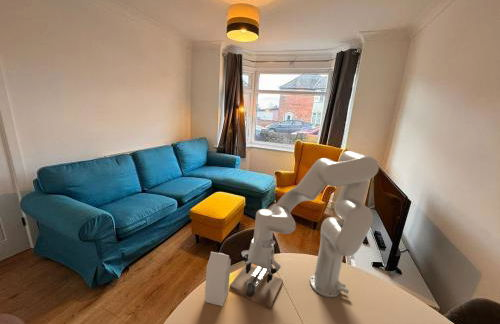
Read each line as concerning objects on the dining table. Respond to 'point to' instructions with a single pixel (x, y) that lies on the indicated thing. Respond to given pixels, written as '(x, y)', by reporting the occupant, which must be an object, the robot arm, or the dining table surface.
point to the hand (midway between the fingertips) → (258, 276)
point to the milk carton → (217, 278)
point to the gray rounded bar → (256, 281)
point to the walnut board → (265, 291)
